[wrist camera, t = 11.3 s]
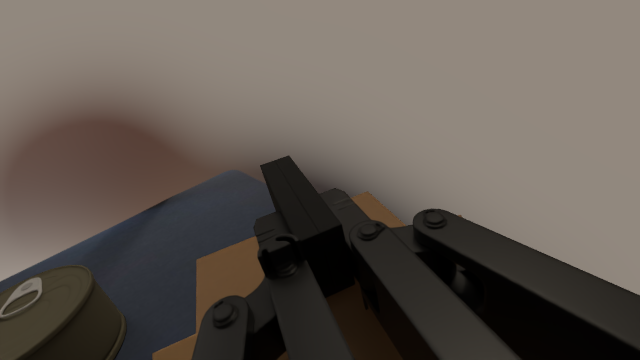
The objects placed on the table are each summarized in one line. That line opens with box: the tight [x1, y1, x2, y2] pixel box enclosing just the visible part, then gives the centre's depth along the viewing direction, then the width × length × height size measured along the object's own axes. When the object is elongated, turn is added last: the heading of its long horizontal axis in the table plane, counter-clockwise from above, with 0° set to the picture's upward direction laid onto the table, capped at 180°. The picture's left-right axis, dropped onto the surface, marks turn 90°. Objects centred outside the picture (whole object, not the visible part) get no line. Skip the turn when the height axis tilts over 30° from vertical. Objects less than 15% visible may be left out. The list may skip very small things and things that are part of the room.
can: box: [0, 265, 127, 360], centre depth 27 cm, size 12×12×7 cm
